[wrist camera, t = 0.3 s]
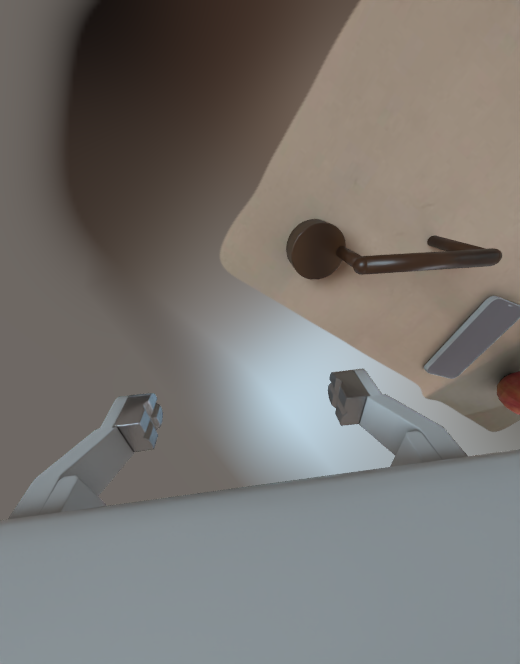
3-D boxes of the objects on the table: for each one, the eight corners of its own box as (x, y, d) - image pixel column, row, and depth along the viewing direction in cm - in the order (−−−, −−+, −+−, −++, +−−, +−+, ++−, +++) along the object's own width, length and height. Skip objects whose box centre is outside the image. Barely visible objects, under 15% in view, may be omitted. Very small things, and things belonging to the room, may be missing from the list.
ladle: (285, 272, 29) (303, 303, 22) (287, 220, 26) (308, 235, 18) (427, 263, 30) (489, 289, 23) (445, 212, 27) (525, 223, 20)
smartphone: (423, 372, 40) (496, 296, 33) (420, 368, 41) (490, 293, 34) (454, 379, 42) (529, 309, 35) (450, 376, 43) (523, 306, 36)
